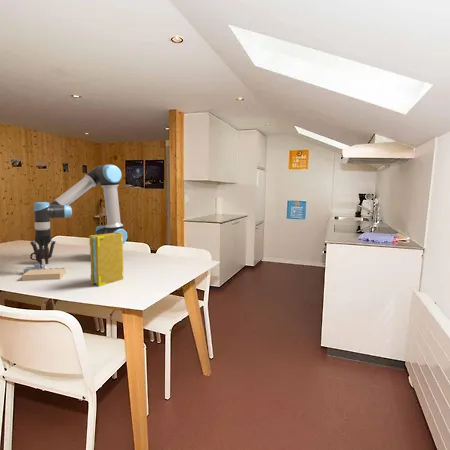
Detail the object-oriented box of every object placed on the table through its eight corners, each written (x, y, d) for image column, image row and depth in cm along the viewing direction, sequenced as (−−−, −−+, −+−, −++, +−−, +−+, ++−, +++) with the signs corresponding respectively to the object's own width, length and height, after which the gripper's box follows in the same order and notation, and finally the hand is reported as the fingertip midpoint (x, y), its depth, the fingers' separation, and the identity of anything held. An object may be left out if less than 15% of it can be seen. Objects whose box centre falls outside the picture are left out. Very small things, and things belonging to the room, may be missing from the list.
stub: (42, 271, 179) (42, 262, 178) (39, 273, 173) (39, 264, 173) (27, 272, 177) (26, 262, 176) (23, 274, 171) (23, 265, 171)
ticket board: (65, 273, 176) (65, 267, 176) (59, 279, 165) (59, 273, 164) (30, 274, 172) (30, 269, 172) (22, 280, 160) (21, 274, 160)
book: (99, 286, 153) (97, 236, 151) (90, 284, 157) (89, 235, 154) (126, 278, 168) (125, 233, 165) (118, 276, 171) (117, 232, 168)
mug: (31, 265, 192) (30, 250, 191) (29, 263, 198) (28, 248, 197) (50, 263, 199) (50, 248, 197) (48, 261, 205) (47, 246, 204)
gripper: (57, 228, 179) (58, 267, 182) (32, 228, 176) (34, 268, 179) (53, 229, 172) (55, 271, 175) (27, 230, 169) (29, 272, 171)
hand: (44, 269), depth 177 cm, fingers closed
